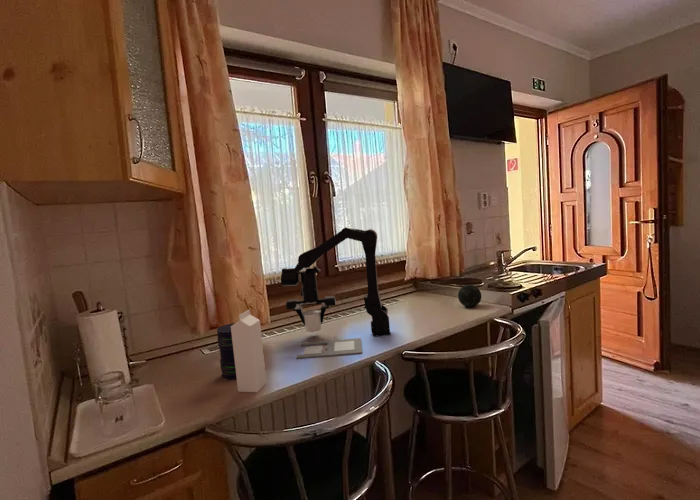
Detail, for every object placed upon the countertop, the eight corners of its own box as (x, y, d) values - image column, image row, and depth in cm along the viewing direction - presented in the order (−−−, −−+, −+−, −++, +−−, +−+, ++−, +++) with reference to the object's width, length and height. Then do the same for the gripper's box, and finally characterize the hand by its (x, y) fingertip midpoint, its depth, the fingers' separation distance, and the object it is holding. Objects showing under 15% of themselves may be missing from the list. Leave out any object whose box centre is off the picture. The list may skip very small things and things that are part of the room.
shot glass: (325, 327, 162) (323, 309, 162) (318, 332, 156) (316, 314, 155) (309, 326, 165) (307, 309, 164) (301, 332, 158) (300, 314, 157)
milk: (237, 392, 116) (228, 315, 113) (248, 382, 122) (239, 309, 119) (257, 392, 114) (248, 314, 112) (267, 383, 120) (258, 308, 118)
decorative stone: (454, 306, 188) (453, 284, 187) (473, 303, 191) (472, 281, 190) (466, 311, 179) (465, 288, 178) (486, 307, 182) (485, 285, 181)
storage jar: (223, 383, 122) (217, 334, 121) (220, 372, 131) (214, 326, 130) (257, 375, 126) (252, 327, 125) (251, 365, 135) (246, 320, 134)
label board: (360, 339, 153) (360, 337, 152) (362, 354, 138) (362, 351, 138) (301, 344, 153) (301, 342, 153) (296, 359, 138) (296, 357, 138)
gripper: (334, 278, 166) (337, 316, 168) (288, 282, 167) (292, 320, 168) (333, 283, 155) (337, 324, 157) (283, 288, 155) (288, 328, 157)
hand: (313, 324), depth 160 cm, fingers closed on shot glass, 6 cm apart
